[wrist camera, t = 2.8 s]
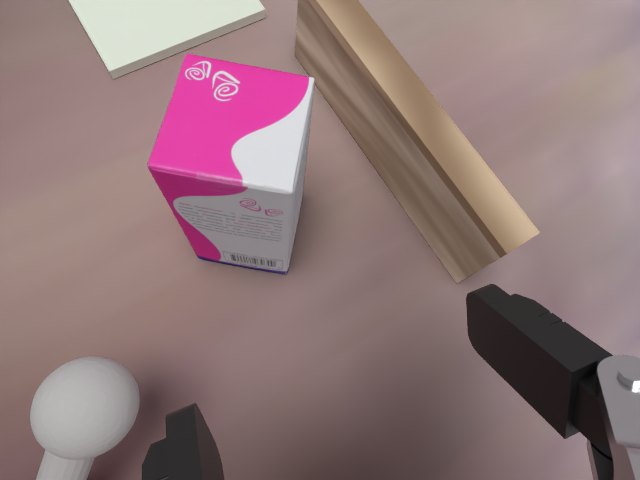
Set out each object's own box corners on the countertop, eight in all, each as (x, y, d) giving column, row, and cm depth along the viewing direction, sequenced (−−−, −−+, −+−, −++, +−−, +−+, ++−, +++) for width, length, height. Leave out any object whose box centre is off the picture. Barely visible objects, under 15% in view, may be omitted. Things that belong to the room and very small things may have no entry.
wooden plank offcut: (453, 285, 28) (507, 253, 22) (291, 56, 33) (295, -28, 26) (479, 268, 29) (539, 232, 22) (316, 45, 33) (326, -40, 27)
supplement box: (304, 190, 29) (320, 74, 19) (287, 276, 27) (295, 202, 17) (217, 174, 29) (183, 47, 18) (194, 259, 27) (140, 172, 16)
